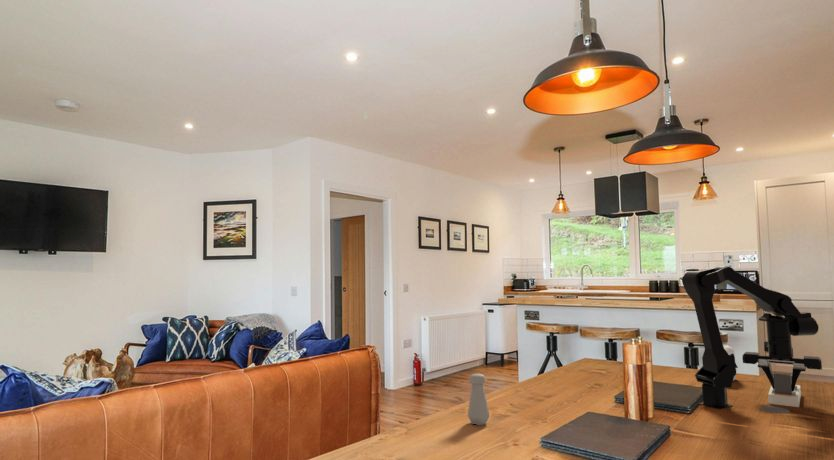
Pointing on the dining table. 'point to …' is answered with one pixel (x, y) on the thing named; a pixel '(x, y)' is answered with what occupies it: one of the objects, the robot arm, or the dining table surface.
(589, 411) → the dining table surface
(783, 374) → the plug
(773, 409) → the coaster
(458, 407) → the dining table surface
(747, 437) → the dining table surface
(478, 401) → the salt shaker
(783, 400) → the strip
